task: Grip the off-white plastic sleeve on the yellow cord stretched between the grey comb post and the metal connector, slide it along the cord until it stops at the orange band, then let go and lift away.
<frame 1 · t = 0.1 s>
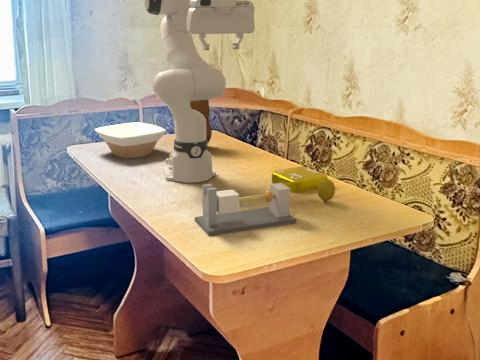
hand: (221, 49, 172), 48 cm above the table, tool pointing down, fingers open, 8 cm apart
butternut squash: (196, 149, 253), on the table
lemon: (325, 202, 189), on the table
pliers: (225, 203, 189), on the table
cord rig: (245, 221, 171), on the table
element tile: (298, 185, 207), on the table
bowl: (131, 154, 245), on the table
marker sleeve: (226, 201, 167), point 7 cm above the table, slide at 0.0 cm
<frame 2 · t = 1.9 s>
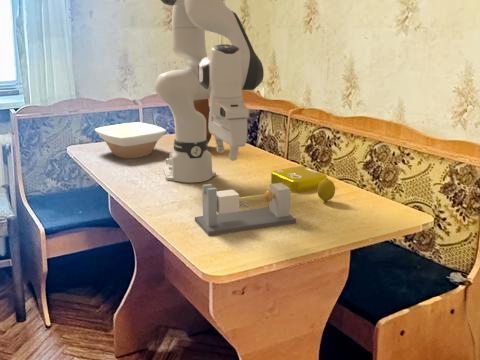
hand: (226, 155, 163), 20 cm above the table, tool pointing down, fingers open, 8 cm apart
nothing on the table moved.
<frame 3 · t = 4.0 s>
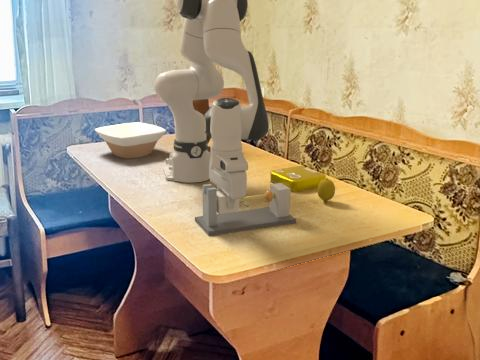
hand: (226, 204, 167), 6 cm above the table, tool pointing down, fingers closed on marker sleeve, 5 cm apart
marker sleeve: (226, 201, 167), point 7 cm above the table, slide at 0.0 cm, touching gripper
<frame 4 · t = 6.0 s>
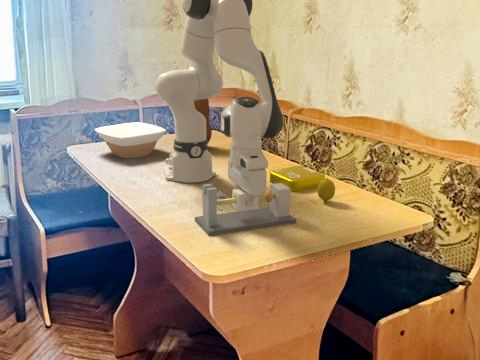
hand: (245, 202, 169), 6 cm above the table, tool pointing down, fingers closed on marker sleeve, 5 cm apart
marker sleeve: (245, 199, 169), point 7 cm above the table, slide at 5.9 cm, touching gripper
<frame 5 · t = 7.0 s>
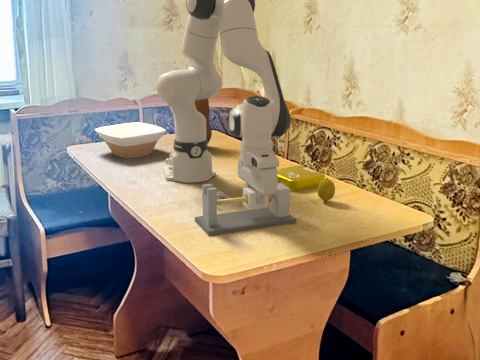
hand: (255, 200, 171), 6 cm above the table, tool pointing down, fingers closed on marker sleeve, 5 cm apart
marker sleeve: (255, 197, 170), point 7 cm above the table, slide at 9.2 cm, touching gripper
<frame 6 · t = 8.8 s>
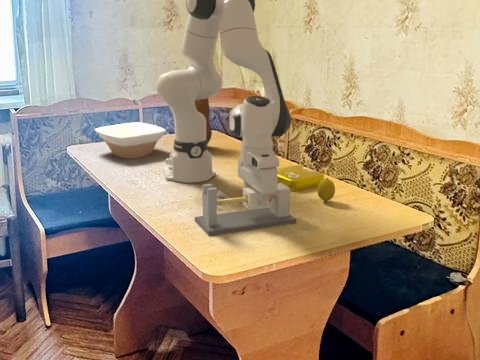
hand: (255, 200, 171), 6 cm above the table, tool pointing down, fingers open, 8 cm apart
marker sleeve: (255, 197, 170), point 7 cm above the table, slide at 9.2 cm
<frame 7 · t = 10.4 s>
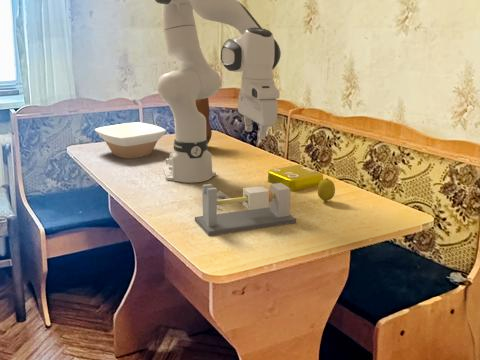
hand: (254, 134, 171), 24 cm above the table, tool pointing down, fingers open, 8 cm apart
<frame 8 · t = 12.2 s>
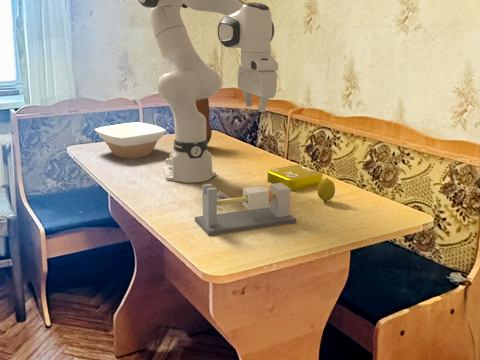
hand: (255, 109, 173), 31 cm above the table, tool pointing down, fingers open, 8 cm apart
at the end: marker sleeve slide at 9.2 cm; the gripper is holding nothing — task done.
